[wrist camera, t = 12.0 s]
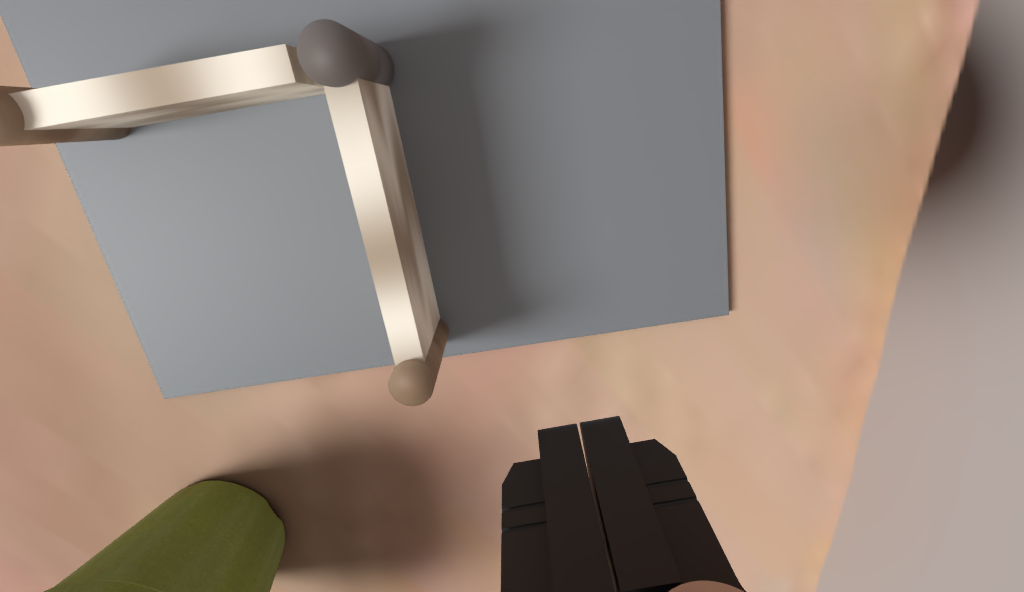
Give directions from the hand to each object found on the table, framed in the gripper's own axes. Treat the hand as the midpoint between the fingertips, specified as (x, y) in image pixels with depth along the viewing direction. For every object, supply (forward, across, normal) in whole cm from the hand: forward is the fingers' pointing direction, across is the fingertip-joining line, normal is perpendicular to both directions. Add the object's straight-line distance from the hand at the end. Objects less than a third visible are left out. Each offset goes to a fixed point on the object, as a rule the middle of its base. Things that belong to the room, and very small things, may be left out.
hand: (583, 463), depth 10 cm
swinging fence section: (+16, +6, -3) cm, 17 cm away
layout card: (+17, +6, -6) cm, 19 cm away
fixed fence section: (+17, +12, -9) cm, 23 cm away
